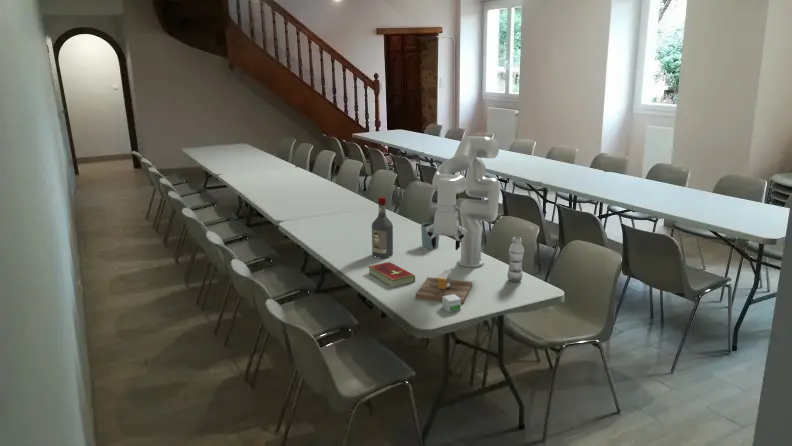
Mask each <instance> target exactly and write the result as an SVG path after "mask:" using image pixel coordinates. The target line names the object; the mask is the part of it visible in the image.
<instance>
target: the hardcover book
mask: <svg viewBox="0 0 792 446" xmlns="http://www.w3.org/2000/svg"><path fill="white" fill-rule="evenodd" d="M367 267H368V274H369V273H371V274H372V275H371V274H370V275H371V276H373V275H374V276H373V277H375V276H376V277H377V278H376V277H375V278H376V279H378V278H379V279H378V280H380V279H381V280H382V282H383V281H384V282H383V283H385V284H386V285H388V284H389V285H388V286H390V287H392V288H395V287H399V286H403V285H407V283H408V284H412V283H415V282H416V276H415V274H414V273H411V272H410V271H408V270H406V269H404V268H402V267H400V266H398V265H397V264H395V263H392V262H391V261H385V262H382V263H376V264H372V265H368V266H367ZM381 280H380V281H381Z"/></svg>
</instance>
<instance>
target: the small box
mask: <svg viewBox="0 0 792 446" xmlns="http://www.w3.org/2000/svg"><path fill="white" fill-rule="evenodd" d="M441 304H442V305H441V306H442V309H443V310H446V311H447V312H448V313H451V312H455V311H461V309H462V304H461V299H460V298H459V297H458V296H456V295H455V294H452V295H447V296H442V301H441Z"/></svg>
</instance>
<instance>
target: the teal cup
mask: <svg viewBox="0 0 792 446" xmlns="http://www.w3.org/2000/svg"><path fill="white" fill-rule="evenodd" d="M432 224H434V222H423V223H422V224H420V229H421V231H420V232H421V247H422V248H423V249H424V248H425V249H424V250H436V249H438V248H439V244H440V243H439V242H440V235H436V236H435V237H436V247H435V248H433V245H432V239H431V237H430V236H429V235H428V233H427V231H426V229H425V228H426V227H427V226H429V225H432ZM430 231H431V232H432V233H433V234H434V232H433V228H431V229H430Z"/></svg>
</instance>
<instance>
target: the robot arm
mask: <svg viewBox="0 0 792 446" xmlns="http://www.w3.org/2000/svg"><path fill="white" fill-rule="evenodd" d="M499 152H500V146H499V142H498V141H497V140H496V139H495V138H494V139H493V138H491V137H488V136H479V135H478V136H475V135H474V136H473V135H467V136H464V137H462V138H461V140H460V142H459V144H458V147H457V149H456V151H455V153H454V156H452V157H450V158H448V159H447V160H446V161H444V162H442V163H441V164H440V165H439V166H438V167H437V169H436V171H435V173H434V175H433V178H432V182H431V183H432V187H433V189H434V190H435V191H436V192H437V202H436V203H437V205H436V206H437V207H436V208H437V209H436V210H435V213H434V219H433V223H434V224H432V225H429V226H427V227H426V228H425V229H426V231H427V233H428V235H429V236H430V237H431V239H432V245H433V248H435V247H436V237H435V236H436V235H439V236H447V237H454V238H455V239H456V240H455V247H454V249H455V250H456V251H458V249H460V258H458V259H457V264H458V265H459V266H461V267H464V268H478V267H479V268H480V267H482V266H483V265H484V264H485V261H484V260H483V259H482V257H481V256H482V232H483V231H482V230H483V229H482V226H481V223H480V222H490V223H491V222H494V221H496V220H497V217H498V211H499V201H500V193H501V191H500V190H501V187H500V186H501V185H500V182H499V180H498V179H497V178H494V177H486V164H485V163H484V160H483V159H495V158H496V157H497V156H498V154H499ZM464 171H466V177H465V176H463V175H459V174H457V173H460V172H461V173H462V172H464ZM464 192H465V193H466V195H467V196H468V197H474V198H483V199H487V200H480V199H464V200H463V201H462V202H461V203H460V206H459V205H457V195H458V194H462V193H464ZM457 210H460V211H459V212H460V219H461V225H460V222H459V221H460V219H459V212H458V211H457ZM479 221H480V222H479ZM431 228H433V232H434V234H433V233H432V232H431V231H430V229H431ZM459 232H461V234H459Z"/></svg>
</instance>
